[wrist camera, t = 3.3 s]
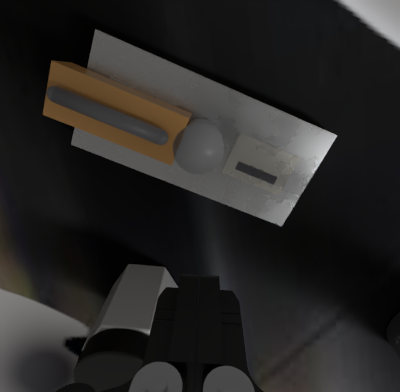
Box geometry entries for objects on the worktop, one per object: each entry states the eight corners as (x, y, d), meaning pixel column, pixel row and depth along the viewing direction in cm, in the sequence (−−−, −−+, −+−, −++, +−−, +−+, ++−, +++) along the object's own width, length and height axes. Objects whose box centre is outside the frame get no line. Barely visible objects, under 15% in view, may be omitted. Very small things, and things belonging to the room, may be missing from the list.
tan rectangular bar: (229, 129, 24) (233, 139, 20) (211, 170, 25) (211, 187, 22) (71, 62, 22) (41, 59, 18) (62, 110, 24) (33, 116, 20)
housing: (326, 130, 27) (338, 136, 24) (276, 215, 30) (282, 227, 28) (106, 33, 24) (93, 28, 22) (82, 138, 28) (69, 145, 25)
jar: (101, 273, 35) (50, 364, 24) (157, 251, 33) (129, 339, 22) (138, 321, 38) (107, 421, 27) (190, 303, 36) (180, 403, 25)
